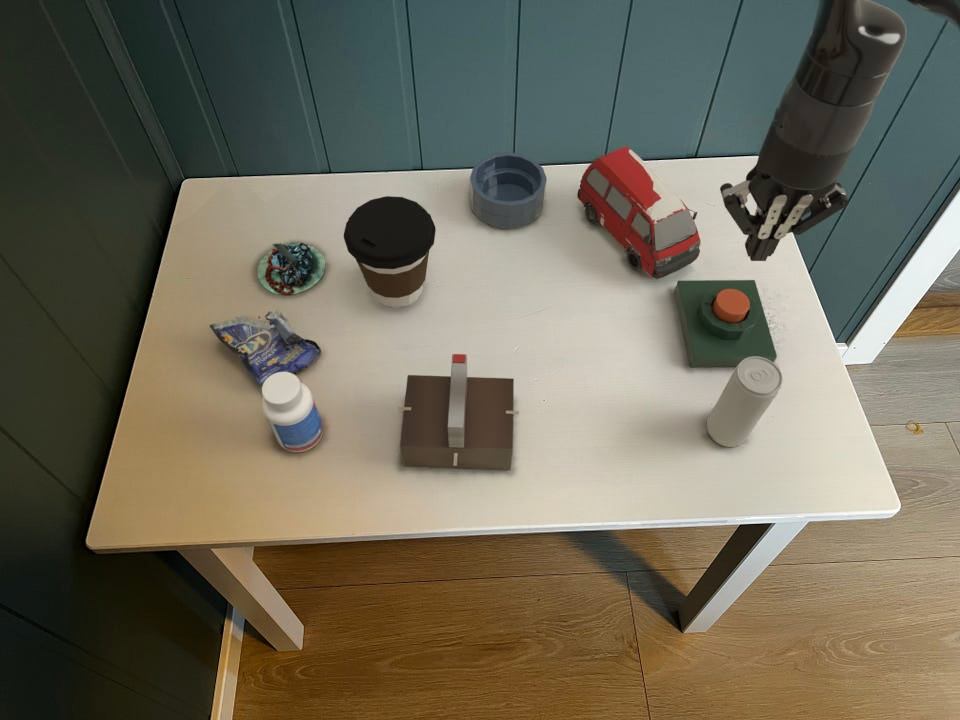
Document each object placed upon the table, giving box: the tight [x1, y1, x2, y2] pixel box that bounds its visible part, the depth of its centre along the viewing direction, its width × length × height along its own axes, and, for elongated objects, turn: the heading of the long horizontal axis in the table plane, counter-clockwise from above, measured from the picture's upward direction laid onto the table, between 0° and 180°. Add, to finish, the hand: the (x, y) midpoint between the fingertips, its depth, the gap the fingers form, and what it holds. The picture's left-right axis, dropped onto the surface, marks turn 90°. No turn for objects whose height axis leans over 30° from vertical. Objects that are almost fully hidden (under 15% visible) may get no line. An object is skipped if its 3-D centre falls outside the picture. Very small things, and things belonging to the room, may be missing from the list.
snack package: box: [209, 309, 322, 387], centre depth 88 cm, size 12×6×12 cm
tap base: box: [397, 374, 520, 471], centre depth 82 cm, size 13×13×5 cm
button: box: [713, 289, 750, 323], centre depth 89 cm, size 4×4×2 cm
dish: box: [257, 241, 326, 296], centre depth 97 cm, size 8×7×8 cm
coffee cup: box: [343, 195, 437, 309], centre depth 91 cm, size 11×11×12 cm
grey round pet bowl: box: [469, 151, 548, 229], centre depth 103 cm, size 10×10×5 cm
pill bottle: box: [261, 372, 324, 453], centre depth 80 cm, size 6×5×10 cm
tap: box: [448, 353, 469, 448], centre depth 78 cm, size 9×2×5 cm, turn 178°
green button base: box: [674, 279, 778, 368], centre depth 91 cm, size 12×10×4 cm
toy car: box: [576, 145, 701, 280], centre depth 97 cm, size 9×18×10 cm, turn 26°
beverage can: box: [706, 356, 784, 448], centre depth 79 cm, size 5×5×12 cm
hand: (756, 255), depth 80 cm, fingers closed
